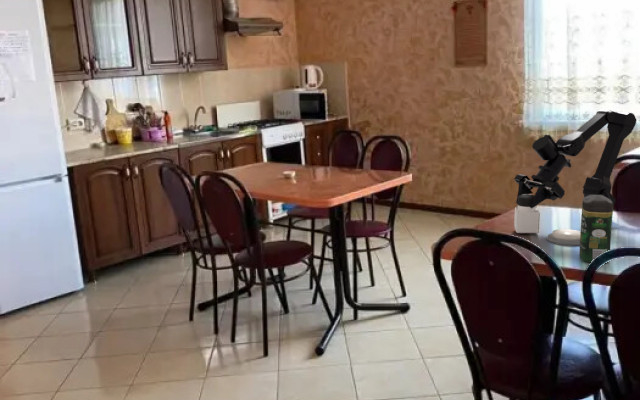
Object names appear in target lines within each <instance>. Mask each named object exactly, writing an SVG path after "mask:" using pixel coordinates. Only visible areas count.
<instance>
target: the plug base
mask: <svg viewBox="0 0 640 400" xmlns="http://www.w3.org/2000/svg"><path fill="white" fill-rule="evenodd" d="M580 233H581V230H580V231H579V230H577V229H576V230H575V229H567V228H566V229H565V228H559V229H555V230H553V231H552V233H549V234H547V237H546V240H547V241H548V242H550V243H552V244H556V245H559V246H568V247H570V246H573V247H575V246H578V247H579V246H580Z"/></svg>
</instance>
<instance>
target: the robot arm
mask: <svg viewBox="0 0 640 400" xmlns="http://www.w3.org/2000/svg"><path fill="white" fill-rule="evenodd" d="M606 125H607V127H606ZM636 125H637V118H636V115H635V113H632V112H623V111H622V112H621V111H614V110H611V109H608V110H607V109H599V110H597V112H596V113H595V114H594V115H593V116H592V117H591V118H590V119H589V120H587V121H586V122H585V123H584V124H582V125H581V126H580V127H579V128H577V129H576V130H575V131H574V132H571V133H569V134H568V133H567V134H566V135H563V136H562V137H560V138H559V139H557V141H554V139H553V137H552V135H550V134H544V135H543V136H541V137H540V138H538V139H537V140H535V141H534V142H533V143H532V147H531V148H532V149H533V150H534V151H535V153H536V154H537V156H539V158H540V159H541V160H542V161H545V162H544V163H543V165H538V169H539V170H538V171H537V173H536V174H532V175H531V176H530V177H531V179H532V180H531V179H530V177H528V175H525V174H520V173H519V174H516V175H515V177H514V178H513V180H514V182H515V183H516V184H517V185H518V192H517V195H516V197H517V198H516V202H515V203H516V205H518V196H520V195H523V194H531V195H534V197H533V199H532V201H531V204H530V208H533V207H535V206H536V205H537V206H538V205H539V204H541V203H542V202H544V201H546V200H551V201H553V202H555V201H556V200H558V199H559V200H561V199H562V198H563V197H564V196H565V189H564V188H563V186H562V185H560V183H559V182H558V181H559V180H560V177H559V175H560V173H561V172H562V171H563V169H564V168H569V169H571V168H572V162H571V159H570V158H566V157H577V156H578V155H579V154H580V153H581V152H582V151H583V150H584V149H585V147H586V146H585V145H586V143H587V141H589V140H590V139H591V138H592V137H593V136H595V135H596V134H597V133H598V132H600V131H601V130H602V129H603V128H604V127H606V128H607V131H608V136H607V140H606V142H605V145H604V147H603V150H602V154H601V156H600V158H599V162H598V165H597V167H596V170H595V173H594V174H593V175H592V176H587V177H586V178H585V182H584V184H583V186H582V188H583V189H582V194H583V199H584V198H585V197H587V196H588V195H604V196H605V197H607V198H609V199H610V200H611V201H612V203H613V207H614V206H615V203H616V200H617V199H616V198H615V197H614V196H613V194H612V193H611V192H612V191H611V190H612V182H611V177H612V176H611V175H612V173H613V171H614V167H615V165H616V161H617V159H618V157H619V155H620V154H619V153H620V151H621V148H622V146H623V143H624V141H625V139H626V138H627V137H629V135H631V133H632V132H633V131H634V129H635V126H636ZM534 188H536V191H535V193H534V192H533V191H532V190H533V189H534Z"/></svg>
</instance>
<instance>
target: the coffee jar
mask: <svg viewBox="0 0 640 400" xmlns="http://www.w3.org/2000/svg"><path fill="white" fill-rule="evenodd" d="M581 204H582V205H581V215H580V216H581V217H580V232H581V233H580V245H579V258H580V259H581V260H582V261H583V262H586V263H590V262H591V261H592V260H593V259H595V258H596V257H597V256H599V255H600V254H602V253H604V252H606V251H608V250H610V251H611V242H612V227H613V226H612V225H613V215H614V214H613V213H614V206H613V203H612V201H611V200H610V199H609V198H607V197H605V196H604V195H588V196H587V197H585V198H584V197H583V198H582V203H581Z"/></svg>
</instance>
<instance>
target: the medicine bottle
mask: <svg viewBox="0 0 640 400" xmlns="http://www.w3.org/2000/svg"><path fill="white" fill-rule="evenodd" d="M534 195H535V194H523V195H520V196H518V204H517V206H515V208H514V223H513V226H514V227H513V228H514V230H515V232H516V234H539V233H540V211H539V209H538V205H536V206H535V207H533V208H530V204H531V201H532V199H533V197H534Z"/></svg>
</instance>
